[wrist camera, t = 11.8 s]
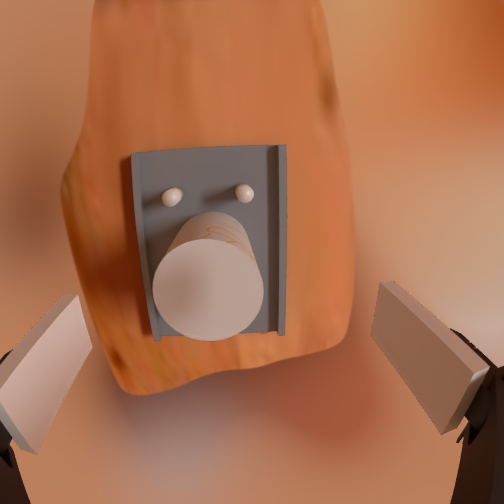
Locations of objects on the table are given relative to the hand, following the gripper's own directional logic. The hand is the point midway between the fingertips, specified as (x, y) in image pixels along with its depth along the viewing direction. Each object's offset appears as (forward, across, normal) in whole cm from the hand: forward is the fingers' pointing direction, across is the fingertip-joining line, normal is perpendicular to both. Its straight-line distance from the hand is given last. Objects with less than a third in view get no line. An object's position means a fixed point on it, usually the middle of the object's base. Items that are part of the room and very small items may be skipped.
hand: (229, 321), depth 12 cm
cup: (+21, -2, -3) cm, 22 cm away
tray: (+22, -2, -4) cm, 23 cm away
